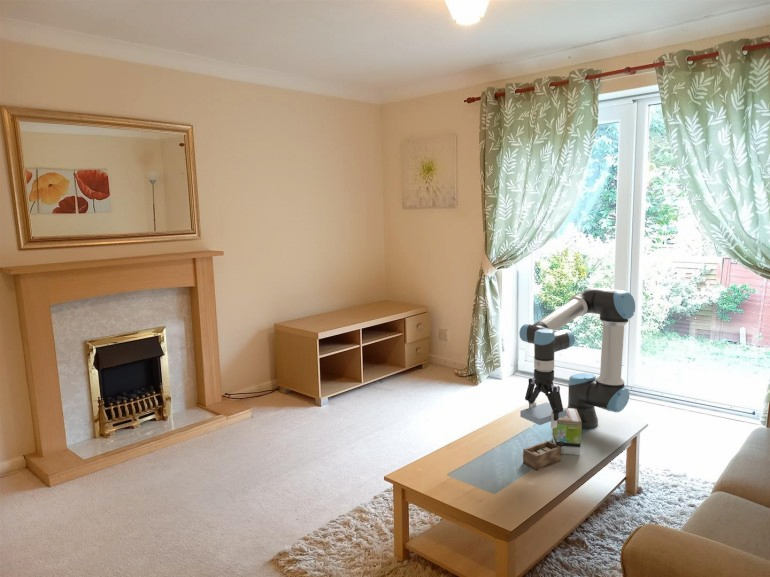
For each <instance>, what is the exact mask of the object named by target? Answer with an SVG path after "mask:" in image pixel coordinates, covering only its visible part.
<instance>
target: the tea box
mask: <svg viewBox="0 0 770 577" xmlns="http://www.w3.org/2000/svg"><path fill="white" fill-rule="evenodd" d="M563 409H566V410H567V412H566V416H565V417H562V418H559V419H558V420H557V427H556V428H553V429H552V432H551V433H552V434H551V435H552V443H554V444H556V445H558V446H560V447H561V455H575V456H576V455H577V456H580V455H581V445H582V444H581V442H582V429H583V428H582V422H581V419H580V417H579V414H578V412H577V409H572V408H567V407H563Z"/></svg>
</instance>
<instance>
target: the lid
mask: <svg viewBox="0 0 770 577" xmlns="http://www.w3.org/2000/svg"><path fill="white" fill-rule="evenodd" d="M555 409H556V408H555ZM519 412H520V418H522V419H525V420H527V421H530V422H531V423H534V424H535V425H538V426H542V425H544V424H547V423H551V412H553V411H552V408H551V405H550V403H549V402H548V401H547V402H543V403H541V404H536V406H534V407H531V408H529V407H527V408H524V409H522V410H520V411H519ZM566 412H567V410H566V409H563V412H560V413H559V418H562V417H565V416H566Z"/></svg>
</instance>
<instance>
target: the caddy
mask: <svg viewBox="0 0 770 577" xmlns="http://www.w3.org/2000/svg"><path fill="white" fill-rule="evenodd" d="M561 461H562V454H561V447H560V446H558V445H556V444H554V443H553V441H552V442H551V441H549V440H545V441H542V442H540V443H537V444H534V445H531V446H530V447H529V446H528V447H526V448H523V451H522V464H524V465H525V466H527V467H528V468H531V469H532V470H535V471H539V470H542V469H544V468H547V467H549V466H550V467H551V465H554V464H557V463H560V462H561Z"/></svg>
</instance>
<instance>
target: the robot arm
mask: <svg viewBox="0 0 770 577" xmlns="http://www.w3.org/2000/svg"><path fill="white" fill-rule="evenodd" d="M635 312H636V300H635V298H634V296H633V295H632V294H631V293H630V292H629V291H627V290H621V289H612V288H611V289H610V288H602V287H593V288H588V289H584V290H582V291H579V292H578V293H576V294H575V295H572V296H571V297H570V298H569V299H568V301H567V302H566V303H564V304H562V305H561V306H559V307H558V308H556V309H555V310H554V311H552V312H551V313H548V314H547V315H546V316H544V317H542V318H541V319H539V320H538V321H537V322H534V324H531V323H528V324H526V323H525V324H523V325H522V326H521V327H520V329H519V333H518V334H519V338H520V341H521V340H522V341H523V342H525V343H528V344H532V345H534V346H533V348H534V349H533V350H534V356H533V359H534V360H533V362H534V363H533V367H534V369H533V377H530V378H528V386H527V389H526V392H525V397H524V400H525V401H527V402H528V408H531V407H534V406H537V402H536V399H537V398H538V396H539V395H540V393H543V394H544V395H545V396H546V397H547V400H548V403H550V405H551V408H552V411H553V412H551V421H550V429H552V430H553V428H556V427H557V420H558V419H559V413H560V412H563V408H564V406H563V401H562V398H561V397H562V396H561V392H560V391H561V387H560V386H559V385H557V386H556V385H554V379H555V370H554V369H555V353H556V352H560V351H563V350H568V349H569V348H572V347H573V346H574V344H575V341H576V337H575V334H574V332H572V330H569V329H564V328H563V329H561V328H562V327H565V326H566V325H567V324H569V323H570V322H572V321H573V320H575V319H576V318H578V317H581V316H584V315H586V314H595V315H599V321H600V322H601V323H602V336H601V337H602V338H601V353H600V368H599V369H600V372H599V376H597V377H596V375H595V374H593V373H587V372H586V373H574V374H572V375H570V377H569V379H568V384H567V385H568V393H567V394H568V396H567V397H568V398H567V400H568V401H567V402H568V403H567V404H568V405H567V407H566V408H572V409H577V412H578V414H579V417H580V419H581V422H582V428H581V429H587V430H588V429H594V428H596V427H597V426H598V425H599V418H598V416H597V412H596V408H595V407H597V408H600V409H603V410H606V411H608V412H613V413H620V412H622V411H623V410H624V409H625V408H626V407H627V405H628V403H629V400H630V394H631V393H630V391H629V388H627V387H625V380H624V379H622V370H623V368H622V366H623V355H624V354H623V351H624V334H625V325H626V324H628V323H629V319H631V318H632V317H633V316H634V315H635V314H634V313H635ZM555 408H556V409H555Z"/></svg>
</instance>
